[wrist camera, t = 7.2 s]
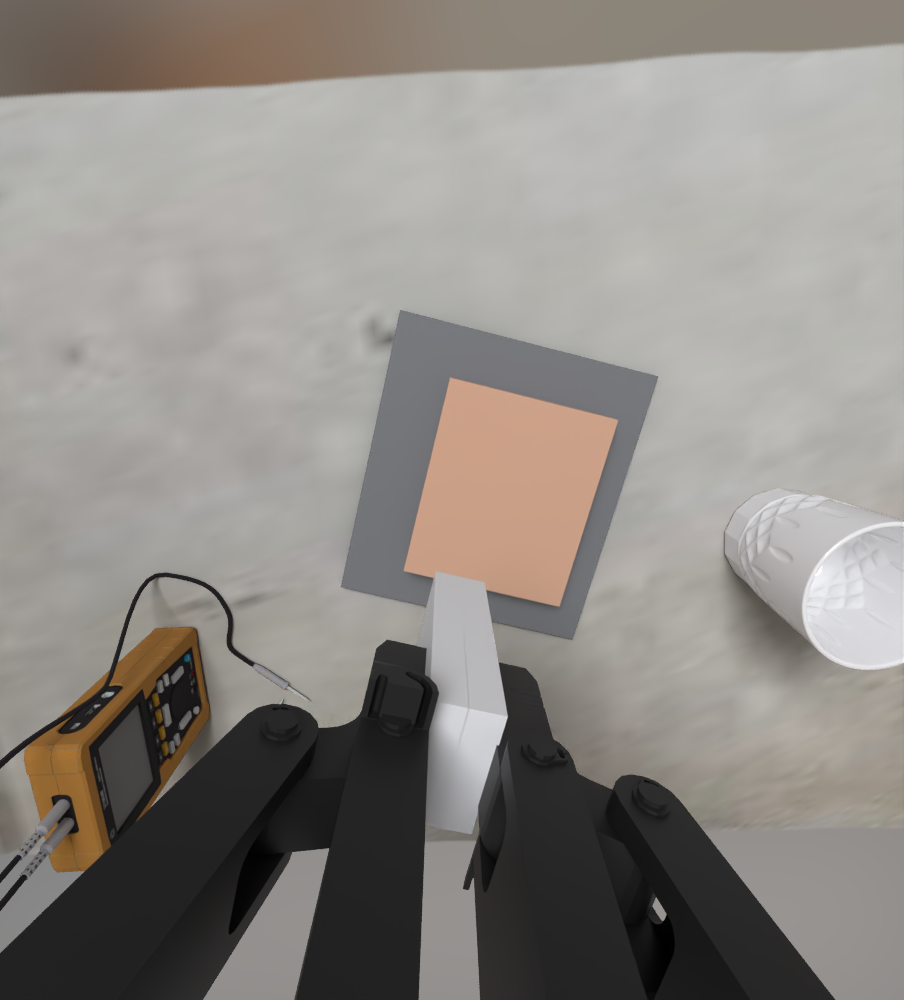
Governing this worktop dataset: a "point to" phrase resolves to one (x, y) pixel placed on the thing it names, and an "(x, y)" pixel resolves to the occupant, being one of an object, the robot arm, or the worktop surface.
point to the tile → (508, 490)
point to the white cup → (825, 572)
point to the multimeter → (117, 746)
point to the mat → (411, 434)
